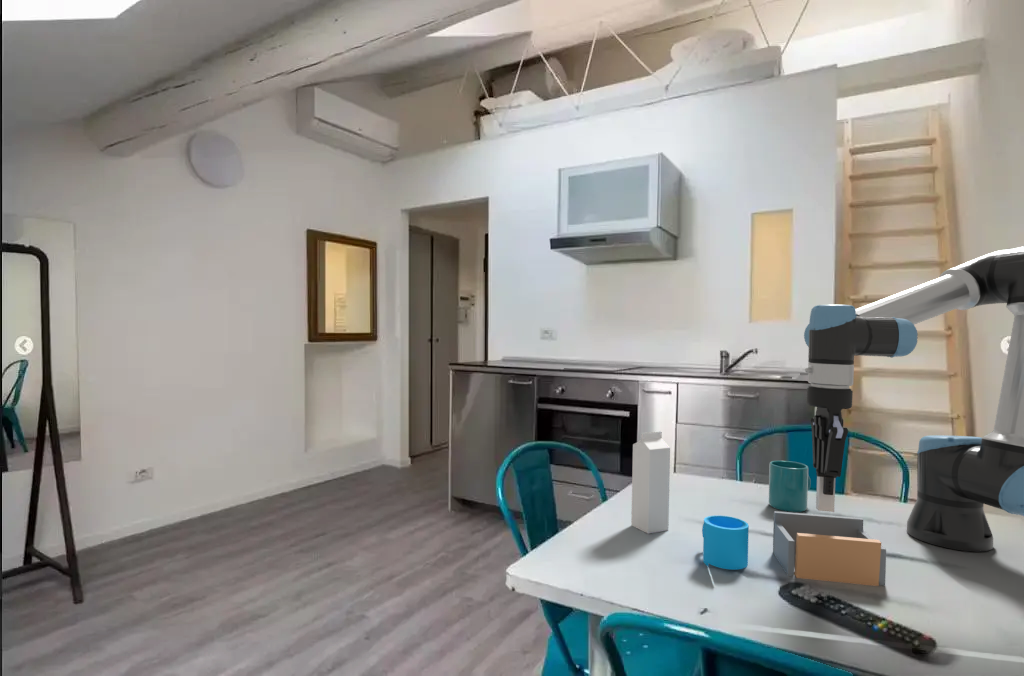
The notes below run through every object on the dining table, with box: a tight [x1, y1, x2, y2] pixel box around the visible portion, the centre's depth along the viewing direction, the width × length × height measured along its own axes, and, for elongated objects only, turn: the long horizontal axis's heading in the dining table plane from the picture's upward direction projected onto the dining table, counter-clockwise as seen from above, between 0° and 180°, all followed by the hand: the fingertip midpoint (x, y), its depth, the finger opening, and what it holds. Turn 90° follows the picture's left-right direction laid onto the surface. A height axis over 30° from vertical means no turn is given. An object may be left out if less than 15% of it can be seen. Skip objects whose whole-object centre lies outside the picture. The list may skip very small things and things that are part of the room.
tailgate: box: [794, 533, 882, 587], centre depth 100 cm, size 13×1×8 cm, turn 78°
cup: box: [768, 460, 812, 513], centre depth 145 cm, size 9×12×11 cm
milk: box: [630, 431, 671, 534], centre depth 127 cm, size 6×6×22 cm
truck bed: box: [772, 510, 887, 586], centre depth 106 cm, size 16×11×9 cm
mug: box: [701, 514, 750, 571], centre depth 110 cm, size 12×8×8 cm
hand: (824, 509), depth 105 cm, fingers closed
